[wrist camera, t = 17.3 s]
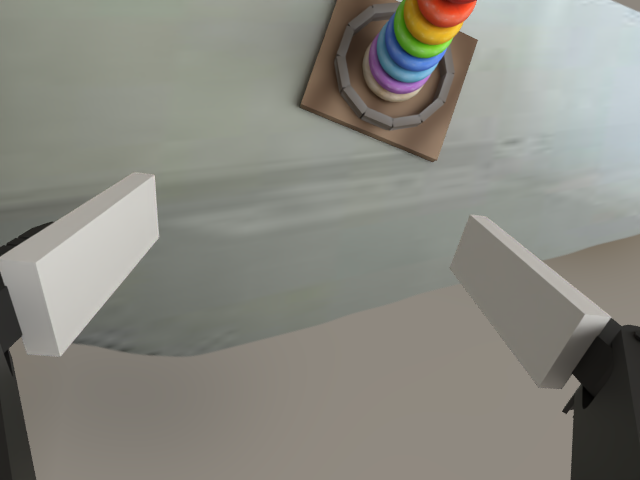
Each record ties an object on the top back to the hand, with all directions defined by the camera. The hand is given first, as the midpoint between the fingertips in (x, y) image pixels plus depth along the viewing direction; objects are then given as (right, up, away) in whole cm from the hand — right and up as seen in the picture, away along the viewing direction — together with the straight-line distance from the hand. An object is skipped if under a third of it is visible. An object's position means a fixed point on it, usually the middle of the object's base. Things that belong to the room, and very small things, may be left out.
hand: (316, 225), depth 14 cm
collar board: (+9, +20, +28) cm, 35 cm away
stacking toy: (+9, +20, +27) cm, 34 cm away
